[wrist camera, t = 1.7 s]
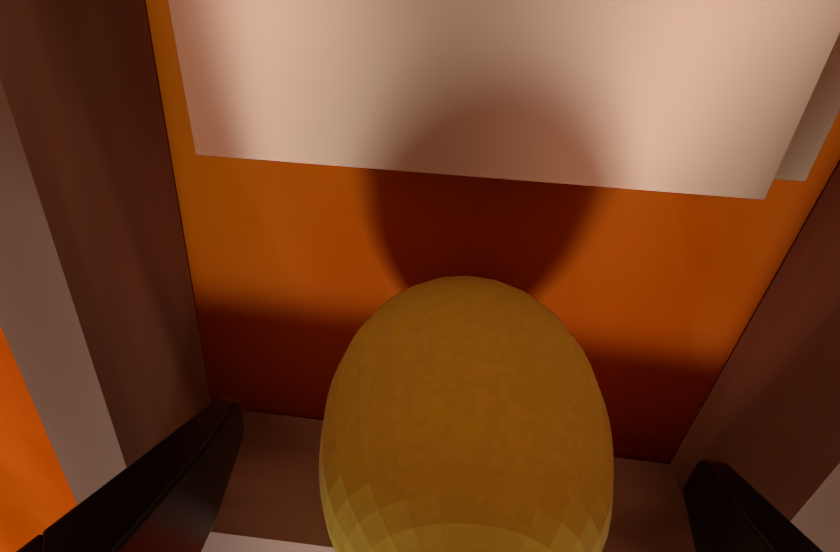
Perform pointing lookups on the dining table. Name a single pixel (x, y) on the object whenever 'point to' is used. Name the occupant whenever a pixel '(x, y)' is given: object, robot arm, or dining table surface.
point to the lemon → (465, 428)
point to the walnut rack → (286, 435)
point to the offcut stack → (519, 87)
